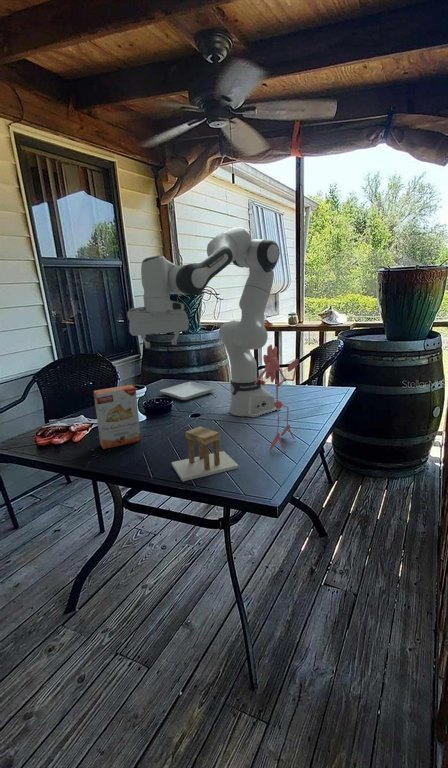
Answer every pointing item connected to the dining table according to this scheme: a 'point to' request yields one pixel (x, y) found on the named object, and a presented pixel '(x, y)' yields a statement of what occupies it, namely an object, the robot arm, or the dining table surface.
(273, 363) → the pink stick figure
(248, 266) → the robot arm
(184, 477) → the white board
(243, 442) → the dining table surface
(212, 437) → the oak stool
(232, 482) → the dining table surface
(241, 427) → the dining table surface
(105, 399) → the cracker box
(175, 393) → the salad plate
